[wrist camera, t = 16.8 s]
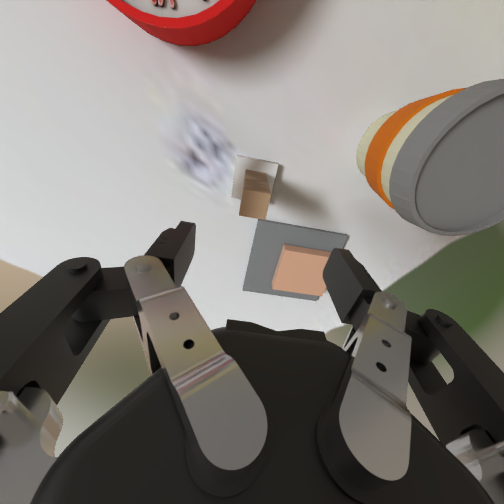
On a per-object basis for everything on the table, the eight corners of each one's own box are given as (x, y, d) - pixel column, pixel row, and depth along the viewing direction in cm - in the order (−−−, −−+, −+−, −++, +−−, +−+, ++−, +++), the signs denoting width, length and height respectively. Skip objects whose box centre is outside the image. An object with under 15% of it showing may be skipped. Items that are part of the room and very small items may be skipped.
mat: (346, 234, 38) (348, 236, 37) (315, 298, 46) (316, 300, 45) (258, 218, 36) (258, 220, 35) (242, 288, 44) (242, 290, 44)
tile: (283, 243, 38) (336, 252, 39) (271, 281, 43) (318, 288, 44) (285, 250, 36) (340, 259, 37) (272, 289, 41) (322, 296, 42)
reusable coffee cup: (456, 132, 29) (614, 145, 16) (382, 206, 35) (457, 258, 22) (397, 68, 25) (540, 22, 13) (325, 163, 31) (375, 195, 19)
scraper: (277, 163, 31) (288, 182, 22) (268, 202, 34) (274, 233, 25) (237, 154, 31) (231, 171, 21) (231, 195, 34) (224, 225, 24)
